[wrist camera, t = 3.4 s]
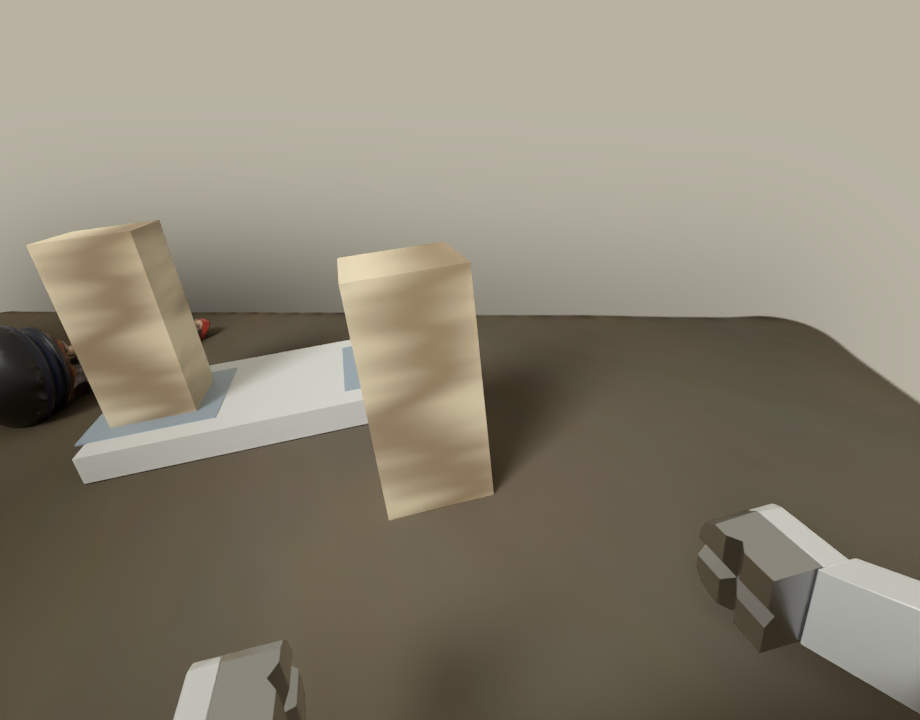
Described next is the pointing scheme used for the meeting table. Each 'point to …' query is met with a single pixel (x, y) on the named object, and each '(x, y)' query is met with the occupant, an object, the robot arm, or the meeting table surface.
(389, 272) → the loose pillar
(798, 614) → the robot arm
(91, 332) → the standing pillar
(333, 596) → the meeting table surface
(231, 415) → the white base board
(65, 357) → the figurine
